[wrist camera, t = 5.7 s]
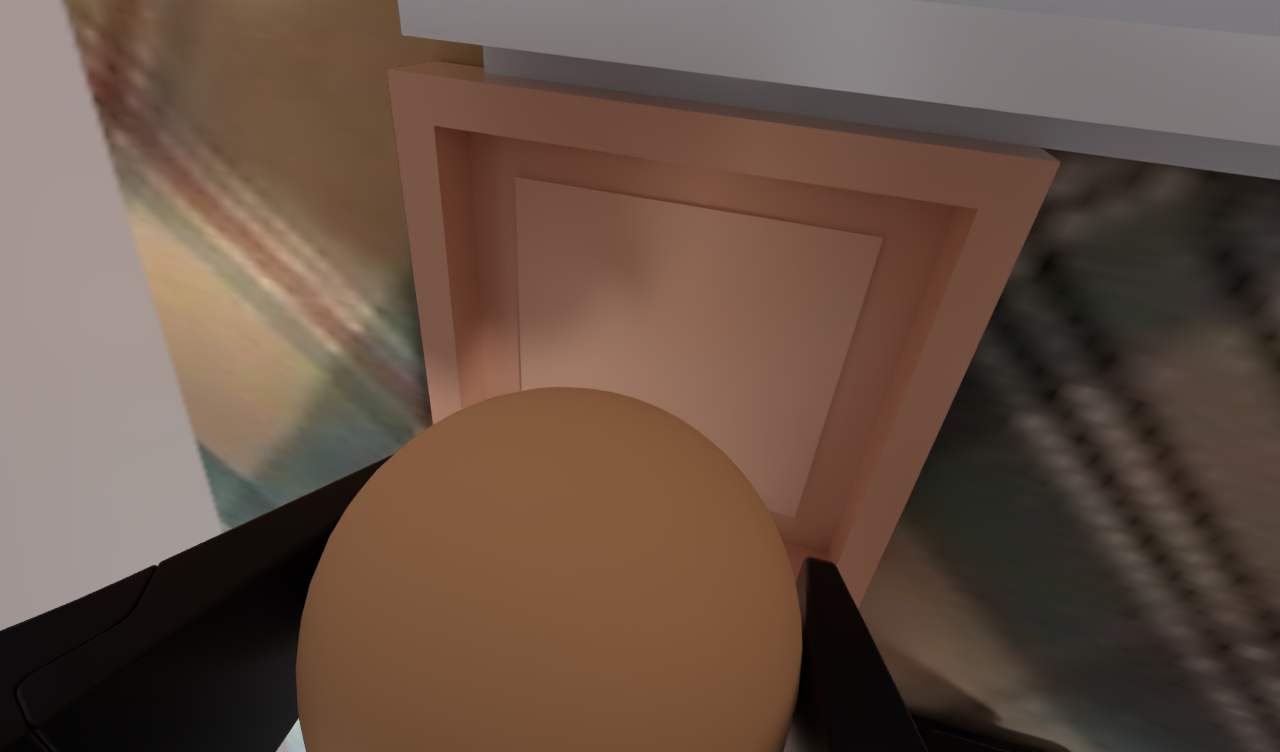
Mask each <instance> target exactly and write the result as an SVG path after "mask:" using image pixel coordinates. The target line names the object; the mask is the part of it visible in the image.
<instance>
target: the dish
mask: <svg viewBox="0 0 1280 752" xmlns="http://www.w3.org/2000/svg"><path fill="white" fill-rule="evenodd" d="M386 70H387V78H388V85H389V93H390V101H391V108H392V116H393V123H394V131H395V139H396V146H397V154H398V161H399V169H400V177H401V184H402V192H403V199H404V207H405V215H406V222H407V230H408V237H409V245H410V253H411V260H412V268H413V275H414V283H415V291H416V298H417V306H418V313H419V321H420V329H421V336H422V344H423V351H424V359H425V367H426V374H427V382H428V389H429V397H430V405H431V412H432V420H433V425H434V424H435V423H437V422H439V421H440V420H442V419H444V418H446V417H447V416H449V415H451V414H453V413H455V412H457V411H459V410H462V409H464V408H466V407H469V406H471V405H474V404H476V403H479V402H482V401H484V400H487V399H490V398H492V397H495V396H500V395H505V394H510V393H514V392H519V391H524V390H529V389H534V388H547V387H574V388H589V389H596V390H602V391H609V392H615V393H618V394H622V395H625V396H629V397H632V398H636V399H639V400H641V401H644V402H646V403H649V404H651V405H654V406H656V407H659V408H661V409H663V410H665V411H667V412H668V413H670V414H672V415H674V416H676V417H678V418H680V419H681V420H683V421H684V422H686V423H687V424H689V425H690V426H692V427H693V428H695V429H696V430H698V431H699V432H701V433H702V434H703V435H704V436H705V437H706V438H708V439H709V440H710V441H711V442H712V443H714V444H715V445H716V446H717V447H718V448H719V449H721V450H722V451H723V452H724V453H725V454H726V455H727V456H728V457H729V458H730V459H731V460H732V461H733V462H734V464H735V465H736V466H737V467H738V468H739V469H740V470H741V471H742V472H743V474H744V475H745V476H746V478H747V479H748V480H749V482H750V483H751V485H752V486H753V487H754V489H755V490H756V492H757V493H758V495H759V496H760V498H761V499H762V501H763V502H764V504H765V506H766V507H767V509H768V511H769V513H770V515H771V517H772V519H773V521H774V522H775V524H776V526H777V529H778V531H779V534H780V536H781V539H782V541H783V544H784V547H785V549H786V552H787V555H788V558H789V561H790V564H791V567H792V569H793V574H794V579H795V583H796V580H797V577H798V574H799V572H800V569H801V566H802V563H803V560H804V559H805V558H806V557H808V556H812V557H816V558H820V559H823V560H827V561H831V562H833V563H834V564H835V565H836V566H837V568H838V570H839V572H840V574H841V576H842V578H843V580H844V582H845V584H846V586H847V588H848V590H849V592H850V594H851V596H852V598H853V600H854V602H855V604H856V606H857V608H858V609H859V606H860V604H861V602H862V600H863V598H864V595H865V593H866V591H867V589H868V587H869V584H870V582H871V580H872V578H873V576H874V573H875V571H876V569H877V567H878V565H879V562H880V560H881V558H882V556H883V554H884V551H885V549H886V547H887V545H888V543H889V540H890V538H891V536H892V534H893V531H894V529H895V527H896V525H897V523H898V520H899V518H900V516H901V514H902V512H903V509H904V507H905V505H906V503H907V501H908V498H909V496H910V494H911V492H912V490H913V487H914V485H915V483H916V481H917V479H918V476H919V474H920V472H921V470H922V468H923V465H924V463H925V461H926V459H927V457H928V454H929V452H930V450H931V448H932V446H933V443H934V441H935V439H936V437H937V435H938V432H939V430H940V428H941V426H942V424H943V421H944V419H945V417H946V415H947V412H948V410H949V408H950V406H951V404H952V401H953V399H954V397H955V395H956V393H957V390H958V388H959V386H960V384H961V382H962V379H963V377H964V375H965V373H966V371H967V368H968V366H969V364H970V362H971V360H972V357H973V355H974V353H975V351H976V349H977V346H978V344H979V342H980V340H981V338H982V335H983V333H984V331H985V329H986V327H987V324H988V322H989V320H990V318H991V316H992V313H993V311H994V309H995V307H996V304H997V302H998V300H999V298H1000V296H1001V293H1002V291H1003V289H1004V287H1005V285H1006V282H1007V280H1008V278H1009V276H1010V274H1011V271H1012V269H1013V267H1014V265H1015V263H1016V260H1017V258H1018V256H1019V254H1020V252H1021V249H1022V247H1023V245H1024V243H1025V241H1026V238H1027V236H1028V234H1029V232H1030V230H1031V227H1032V225H1033V223H1034V221H1035V219H1036V216H1037V214H1038V212H1039V210H1040V208H1041V205H1042V203H1043V201H1044V199H1045V196H1046V194H1047V192H1048V190H1049V188H1050V185H1051V183H1052V181H1053V179H1054V177H1055V174H1056V172H1057V170H1058V168H1059V166H1060V163H1061V162H1060V161H1059V160H1057V159H1056V158H1054V157H1053V156H1052V155H1050V154H1049V153H1047V152H1046V151H1045V150H1043V149H1042V148H1039V147H1032V146H1025V145H1017V144H1010V143H1002V142H995V141H988V140H980V139H973V138H965V137H958V136H950V135H943V134H936V133H928V132H921V131H913V130H906V129H898V128H891V127H884V126H876V125H869V124H861V123H854V122H846V121H839V120H832V119H824V118H817V117H809V116H802V115H794V114H787V113H780V112H772V111H765V110H757V109H750V108H742V107H735V106H728V105H720V104H713V103H705V102H698V101H690V100H683V99H676V98H668V97H661V96H653V95H646V94H638V93H631V92H624V91H616V90H609V89H601V88H594V87H586V86H579V85H572V84H564V83H557V82H549V81H542V80H534V79H527V78H520V77H512V76H505V75H497V74H490V73H484V67H477V66H469V65H462V64H454V63H447V62H439V61H434V62H428V63H422V64H416V65H410V66H404V67H397V68H391V69H386Z"/></svg>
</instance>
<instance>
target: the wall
mask: <svg viewBox="0 0 1280 752" xmlns="http://www.w3.org/2000/svg"><path fill="white" fill-rule="evenodd" d="M398 8H399V16H400V25H401V33H402V35H404V36H412V37H420V38H428V39H436V40H443V41H451V42H459V43H467V44H475V45H483V59H484V73H490V74H497V75H505V76H512V77H520V78H527V79H534V80H542V81H549V82H557V83H564V84H572V85H579V86H586V87H594V88H601V89H609V90H616V91H624V92H631V93H638V94H646V95H653V96H661V97H668V98H676V99H683V100H690V101H698V102H705V103H713V104H720V105H728V106H735V107H742V108H750V109H757V110H765V111H772V112H780V113H787V114H794V115H802V116H809V117H817V118H824V119H832V120H839V121H846V122H854V123H861V124H869V125H876V126H884V127H891V128H898V129H906V130H913V131H921V132H928V133H936V134H943V135H950V136H958V137H965V138H973V139H980V140H988V141H995V142H1002V143H1010V144H1017V145H1025V146H1032V147H1039V148H1047V149H1054V150H1062V151H1069V152H1077V153H1084V154H1091V155H1099V156H1106V157H1114V158H1121V159H1129V160H1136V161H1143V162H1151V163H1158V164H1166V165H1173V166H1181V167H1188V168H1195V169H1203V170H1210V171H1218V172H1225V173H1233V174H1240V175H1247V176H1255V177H1262V178H1270V179H1277V180H1280V0H398Z"/></svg>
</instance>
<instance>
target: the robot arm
mask: <svg viewBox="0 0 1280 752" xmlns="http://www.w3.org/2000/svg"><path fill="white" fill-rule="evenodd" d="M393 455H394V454H393ZM393 455H391V456H389V457H387V458H384V459H382V460H380V461H378V462H376V463H374V464H371V465H369V466H367V467H365V468H363V469H361V470H358V471H356V472H354V473H352V474H350V475H348V476H345V477H343V478H341V479H339V480H337V481H335V482H332V483H330V484H328V485H326V486H324V487H322V488H320V489H317V490H315V491H313V492H311V493H309V494H307V495H304V496H302V497H300V498H298V499H296V500H294V501H291V502H289V503H287V504H285V505H283V506H281V507H278V508H276V509H274V510H272V511H270V512H268V513H265V514H263V515H261V516H259V517H257V518H255V519H252V520H250V521H248V522H246V523H244V524H242V525H239V526H237V527H235V528H233V529H231V530H229V531H226V532H224V533H222V534H220V535H218V536H216V537H213V538H211V539H209V540H207V541H205V542H203V543H200V544H198V545H196V546H194V547H192V548H190V549H187V550H185V551H183V552H181V553H179V554H177V555H175V556H172V557H170V558H168V559H166V560H164V561H162V562H160V563H159V565H158V566H156V565H153V566H150V567H148V568H146V569H144V570H142V571H139V572H137V573H135V574H133V575H131V576H129V577H127V578H124V579H122V580H120V581H118V582H115V583H113V584H111V585H109V586H106V587H104V588H102V589H100V590H97V591H95V592H93V593H91V594H88V595H86V596H84V597H82V598H79V599H77V600H75V601H73V602H70V603H67V604H65V605H63V606H60V607H58V608H55V609H53V610H50V611H48V612H46V613H43V614H41V615H39V616H36V617H33V618H31V619H28V620H26V621H24V622H21V623H19V624H16V625H14V626H11V627H8V628H6V629H3V630H1V631H0V752H276V751H277V749H278V748H279V747H280V745H281V743H282V742H283V741H284V739H285V738H286V736H287V735H288V733H289V732H290V730H291V729H292V727H293V726H294V724H295V723H296V721H297V720H298V718H299V714H298V704H297V685H296V660H297V651H298V641H299V632H300V624H301V617H302V614H303V610H304V606H305V602H306V598H307V594H308V590H309V586H310V583H311V580H312V578H313V575H314V573H315V571H316V568H317V566H318V563H319V561H320V559H321V556H322V554H323V551H324V549H325V547H326V544H327V542H328V540H329V537H330V535H331V534H332V532H333V530H334V529H335V527H336V525H337V524H338V522H339V520H340V519H341V517H342V515H343V514H344V512H345V510H346V509H347V507H348V506H349V505H350V503H351V502H352V500H353V499H354V498H355V496H356V495H357V494H358V492H359V491H360V490H361V489H362V488H363V486H364V485H365V484H366V483H367V481H368V480H369V479H370V478H371V477H372V475H373V474H374V473H375V472H376V471H377V469H379V468H380V467H381V466H382V465H383V464H384V463H385V462H386V461H387V460H389V459H390V458H391V457H392V456H393ZM795 584H796V589H797V594H798V600H799V607H800V613H801V624H802V666H801V676H800V684H799V693H798V700H797V704H796V708H795V711H794V715H793V719H792V722H791V726H790V730H789V733H788V737H787V740H786V744H785V747H784V750H783V752H1036V751H1033V750H1030V749H1026V748H1023V747H1019V746H1016V745H1013V744H1009V743H1006V742H1002V741H999V740H996V739H992V738H989V737H985V736H982V735H978V734H975V733H972V732H968V731H965V730H961V729H958V728H955V727H951V726H948V725H944V724H941V723H938V722H934V721H931V720H927V719H924V718H921V717H917V716H914V715H910V713H909V711H908V709H907V707H906V705H905V703H904V701H903V699H902V697H901V695H900V693H899V691H898V689H897V687H896V685H895V683H894V681H893V679H892V677H891V675H890V673H889V671H888V669H887V667H886V665H885V663H884V661H883V659H882V657H881V655H880V653H879V651H878V649H877V647H876V645H875V643H874V641H873V639H872V637H871V635H870V632H869V630H868V628H867V626H866V624H865V622H864V620H863V618H862V616H861V614H860V612H859V610H858V608H857V606H856V604H855V602H854V600H853V598H852V596H851V594H850V592H849V590H848V588H847V586H846V584H845V582H844V580H843V578H842V576H841V574H840V572H839V570H838V568H837V566H836V565H835V564H834V563H833V562H831V561H827V560H823V559H820V558H816V557H812V556H808V557H806V558H805V559H804V560H803V563H802V566H801V569H800V572H799V574H798V577H797V580H796V583H795Z"/></svg>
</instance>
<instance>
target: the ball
mask: <svg viewBox="0 0 1280 752" xmlns="http://www.w3.org/2000/svg"><path fill="white" fill-rule="evenodd" d="M801 666H802V624H801V613H800V607H799V600H798V594H797V589H796V584H795V579H794V574H793V569H792V567H791V564H790V561H789V558H788V555H787V552H786V549H785V547H784V544H783V541H782V539H781V536H780V534H779V531H778V529H777V526H776V524H775V522H774V521H773V519H772V517H771V515H770V513H769V511H768V509H767V507H766V506H765V504H764V502H763V501H762V499H761V498H760V496H759V495H758V493H757V492H756V490H755V489H754V487H753V486H752V485H751V483H750V482H749V480H748V479H747V478H746V476H745V475H744V474H743V472H742V471H741V470H740V469H739V468H738V467H737V466H736V465H735V464H734V462H733V461H732V460H731V459H730V458H729V457H728V456H727V455H726V454H725V453H724V452H723V451H722V450H721V449H719V448H718V447H717V446H716V445H715V444H714V443H712V442H711V441H710V440H709V439H708V438H706V437H705V436H704V435H703V434H702V433H701V432H699V431H698V430H696V429H695V428H693V427H692V426H690V425H689V424H687V423H686V422H684V421H683V420H681V419H680V418H678V417H676V416H674V415H672V414H670V413H668V412H667V411H665V410H663V409H661V408H659V407H656V406H654V405H651V404H649V403H646V402H644V401H641V400H639V399H636V398H632V397H629V396H625V395H622V394H618V393H615V392H609V391H602V390H596V389H589V388H574V387H547V388H534V389H529V390H524V391H519V392H514V393H510V394H505V395H500V396H495V397H492V398H490V399H487V400H484V401H482V402H479V403H476V404H474V405H471V406H469V407H466V408H464V409H462V410H459V411H457V412H455V413H453V414H451V415H449V416H447V417H446V418H444V419H442V420H440V421H439V422H437V423H435V424H434V425H432V426H431V427H429V428H427V429H426V430H424V431H423V432H421V433H420V434H418V435H417V436H415V437H414V438H412V439H411V440H410V441H409V442H408V443H407V444H405V445H404V446H403V447H402V448H401V449H400V450H399V451H397V452H396V453H395V454H394V455H393V456H392V457H391V458H390V459H389V460H387V461H386V462H385V463H384V464H383V465H382V466H381V467H380V468H379V469H377V471H376V472H375V473H374V474H373V475H372V477H371V478H370V479H369V480H368V481H367V483H366V484H365V485H364V486H363V488H362V489H361V490H360V491H359V492H358V494H357V495H356V496H355V498H354V499H353V500H352V502H351V503H350V505H349V506H348V507H347V509H346V510H345V512H344V514H343V515H342V517H341V519H340V520H339V522H338V524H337V525H336V527H335V529H334V530H333V532H332V534H331V535H330V537H329V540H328V542H327V544H326V547H325V549H324V551H323V554H322V556H321V559H320V561H319V563H318V566H317V568H316V571H315V573H314V575H313V578H312V580H311V583H310V586H309V590H308V594H307V598H306V602H305V606H304V610H303V614H302V617H301V624H300V632H299V641H298V651H297V660H296V685H297V704H298V714H299V721H300V725H301V730H302V735H303V740H304V744H305V749H306V752H783V750H784V747H785V744H786V740H787V737H788V733H789V730H790V726H791V722H792V719H793V715H794V711H795V708H796V704H797V700H798V693H799V684H800V676H801Z"/></svg>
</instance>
